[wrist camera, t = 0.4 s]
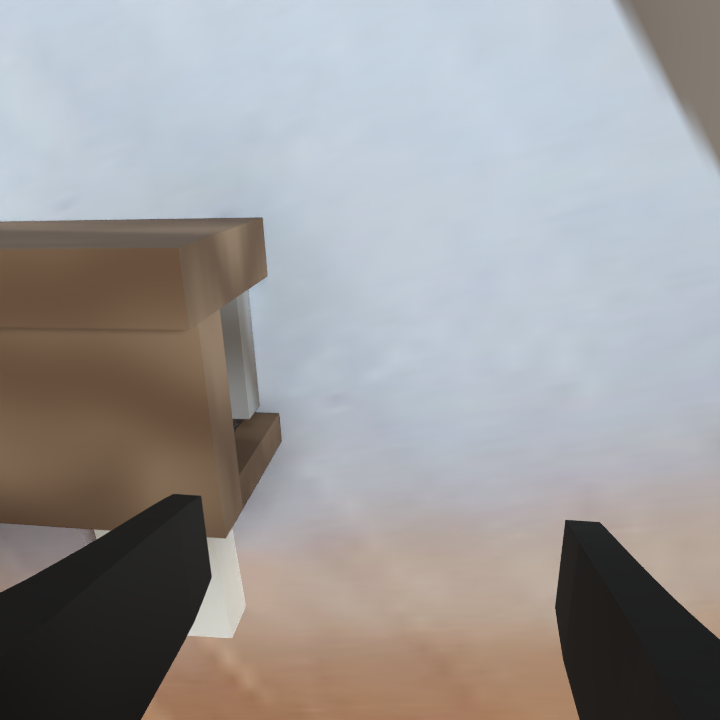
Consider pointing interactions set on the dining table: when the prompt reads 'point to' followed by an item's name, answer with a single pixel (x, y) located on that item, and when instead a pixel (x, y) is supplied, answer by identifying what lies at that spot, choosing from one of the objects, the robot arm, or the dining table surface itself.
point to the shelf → (129, 369)
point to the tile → (218, 591)
